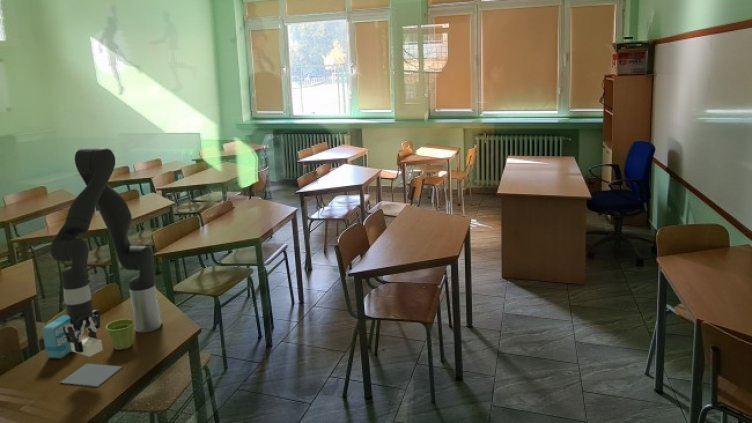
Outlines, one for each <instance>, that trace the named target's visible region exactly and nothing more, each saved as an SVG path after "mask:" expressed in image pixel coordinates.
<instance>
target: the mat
mask: <svg viewBox="0 0 752 423" xmlns="http://www.w3.org/2000/svg"><path fill="white" fill-rule="evenodd" d="M122 369H123V366H118V365H107V364H106V365H105V364H95V363H85V364H84V365H82V366H81V367H80V368H78V369H76V371H73V373H71V374H70V375H68V376H67V377H66V378H64V379H62V380H61V381H60V383H59V384H61V383H63V385H71V384H73V385H72V386H81V385H82V387H92V388H99V387H100V386H101V385H103V384H104V383H105V382H106V381H108V380H109V379H110V378H112V377H113V376H114V375H116V374H117V373H118V372H120V371H121V370H122Z"/></svg>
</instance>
